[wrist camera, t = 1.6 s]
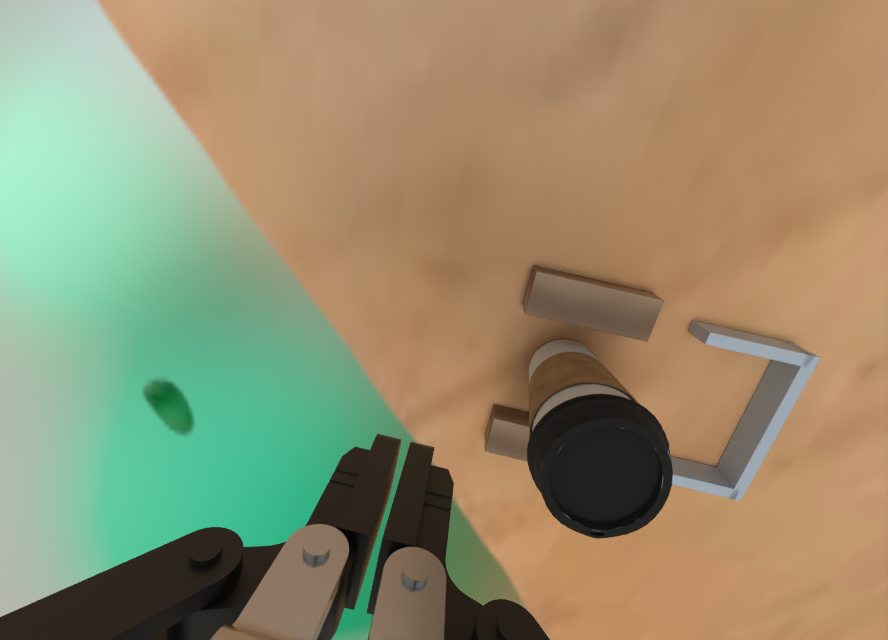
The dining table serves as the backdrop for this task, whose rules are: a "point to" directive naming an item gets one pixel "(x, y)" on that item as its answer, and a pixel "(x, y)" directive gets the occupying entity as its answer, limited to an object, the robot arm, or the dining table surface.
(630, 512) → the coffee cup
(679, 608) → the dining table surface
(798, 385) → the corral
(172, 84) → the dining table surface
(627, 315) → the clamp blocks
